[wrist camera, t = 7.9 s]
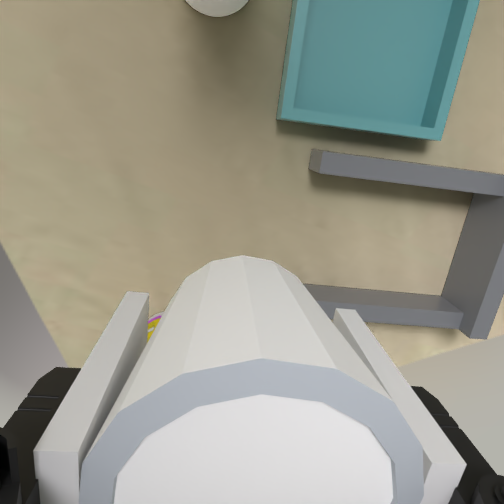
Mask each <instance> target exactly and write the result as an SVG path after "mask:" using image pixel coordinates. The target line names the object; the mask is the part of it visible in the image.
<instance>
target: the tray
mask: <svg viewBox="0 0 504 504" xmlns="http://www.w3.org/2000/svg"><path fill="white" fill-rule="evenodd" d="M479 1H480V0H293V1H292V8H291V15H290V23H289V30H288V37H287V44H286V51H285V59H284V66H283V73H282V80H281V87H280V95H279V102H278V109H277V116H276V119H278V120H285V121H292V122H299V123H306V124H313V125H320V126H328V127H335V128H342V129H349V130H356V131H363V132H370V133H377V134H385V135H392V136H399V137H406V138H413V139H420V140H436V141H441V138H442V134H443V131H444V127H445V124H446V120H447V116H448V113H449V109H450V106H451V102H452V98H453V95H454V91H455V88H456V84H457V80H458V77H459V73H460V70H461V66H462V62H463V59H464V55H465V52H466V48H467V44H468V41H469V37H470V34H471V30H472V26H473V23H474V19H475V16H476V12H477V8H478V5H479Z"/></svg>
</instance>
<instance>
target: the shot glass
mask: <svg viewBox="0 0 504 504" xmlns="http://www.w3.org/2000/svg"><path fill="white" fill-rule="evenodd" d="M423 497H424V479H423V447H422V445H421V444H420V442H419V440H418V439H417V437H416V436H415V434H414V433H413V431H412V430H411V428H410V426H409V425H408V423H407V422H406V420H405V419H404V417H403V415H402V414H401V412H400V411H399V409H398V408H397V406H396V404H395V403H394V401H393V400H392V399H391V397H390V396H389V395H388V394H387V392H386V391H385V390H384V388H383V387H382V386H381V385H380V383H379V382H378V381H377V379H376V378H375V377H374V375H373V374H372V373H371V372H370V370H369V369H368V368H367V366H366V365H365V364H364V363H363V361H362V360H361V359H360V357H359V356H358V355H357V353H356V352H355V351H354V350H353V348H352V347H351V346H350V344H349V343H348V342H347V341H346V339H345V338H344V337H343V335H342V334H341V333H340V331H339V330H338V329H337V328H336V326H335V325H334V324H333V322H332V321H331V320H330V319H329V317H328V316H327V315H326V313H325V312H324V311H323V309H322V308H321V307H320V306H319V304H318V303H317V302H316V300H315V299H314V298H313V297H312V295H311V294H310V293H309V291H308V290H307V289H306V288H305V286H304V285H303V284H302V282H301V281H300V280H299V278H298V277H297V276H296V275H294V274H293V273H291V272H290V271H288V270H286V269H285V268H283V267H282V266H280V265H279V264H277V263H275V262H274V261H272V260H267V259H261V258H256V257H250V256H244V255H240V256H235V257H230V258H225V259H220V260H214V261H211V262H209V263H208V264H206V265H205V266H203V267H202V268H200V269H198V270H197V271H195V272H194V273H192V274H191V275H189V276H187V277H186V278H185V280H184V281H183V283H182V284H181V286H180V287H179V289H178V290H177V292H176V293H175V295H174V296H173V297H172V299H171V300H170V302H169V304H168V306H167V308H166V310H165V311H164V313H163V315H162V317H161V319H160V321H159V322H158V324H157V326H156V328H155V330H154V332H153V334H152V335H151V337H150V339H149V341H148V343H147V345H146V346H145V348H144V350H143V352H142V354H141V356H140V358H139V359H138V361H137V363H136V365H135V367H134V369H133V370H132V372H131V374H130V376H129V378H128V380H127V382H126V383H125V385H124V387H123V389H122V391H121V393H120V394H119V396H118V398H117V400H116V402H115V404H114V406H113V407H112V409H111V411H110V413H109V415H108V417H107V418H106V420H105V422H104V424H103V426H102V428H101V430H100V431H99V433H98V435H97V437H96V439H95V441H94V443H93V444H92V446H91V448H90V450H89V452H88V454H87V455H86V457H85V459H84V461H83V463H82V471H81V482H80V493H79V504H420V503H421V501H422V499H423Z"/></svg>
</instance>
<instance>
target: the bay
mask: <svg viewBox="0 0 504 504" xmlns="http://www.w3.org/2000/svg"><path fill="white" fill-rule="evenodd" d="M309 169H310V170H312V171H315V172H317V173H320V174H328V175H336V176H344V177H352V178H360V179H368V180H376V181H384V182H392V183H400V184H408V185H416V186H424V187H432V188H440V189H448V190H456V191H464V192H472V193H474V195H473V198H472V201H471V204H470V207H469V210H468V214H467V217H466V220H465V223H464V226H463V229H462V232H461V236H460V239H459V242H458V245H457V248H456V251H455V254H454V257H453V261H452V264H451V267H450V270H449V273H448V276H447V279H446V283H445V286H444V289H443V292H442V295H441V296H436V295H425V294H413V293H402V292H391V291H379V290H368V289H357V288H346V287H334V286H323V285H312V284H303V285H304V286H305V288H306V289H307V290H308V291H309V293H310V294H311V295H312V297H313V298H314V299H315V300H316V302H317V303H318V304H319V306H320V307H321V308H322V309H323V311H324V312H325V313H326V315H327V316H328V317H329V319H333V318H334V314H335V310H336V308H340V309H352V310H356V312H357V313H358V314H359V316H360V317H361V318H362V320H363V321H364V322H375V323H387V324H400V325H413V326H426V327H439V328H451V329H459V330H460V331H461V332H463V333H464V334H465V335H466V336H467V337H469V338H474V339H487V337H488V334H489V331H490V329H491V326H492V324H493V321H494V318H495V316H496V313H497V310H498V308H499V305H500V302H501V300H502V297H503V294H504V175H503V174H496V173H489V172H481V171H474V170H466V169H458V168H451V167H443V166H436V165H428V164H421V163H413V162H406V161H398V160H390V159H383V158H375V157H368V156H360V155H353V154H345V153H338V152H330V151H322V150H315V149H312V152H311V157H310V163H309Z"/></svg>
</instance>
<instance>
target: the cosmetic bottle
mask: <svg viewBox="0 0 504 504" xmlns="http://www.w3.org/2000/svg"><path fill="white" fill-rule="evenodd" d="M248 1H249V0H186V2H187V3H188V4H189V5H190V6H191V7H193V8H194V9H195V10H197V11H199V12H200V13H202V14H205V15H208V16H213V17H223V16H228V15H231V14H233V13H235V12H237V11H238V10H240V9H241V8H242V7H243V6H244V5H245V4H246V3H247V2H248Z"/></svg>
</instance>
